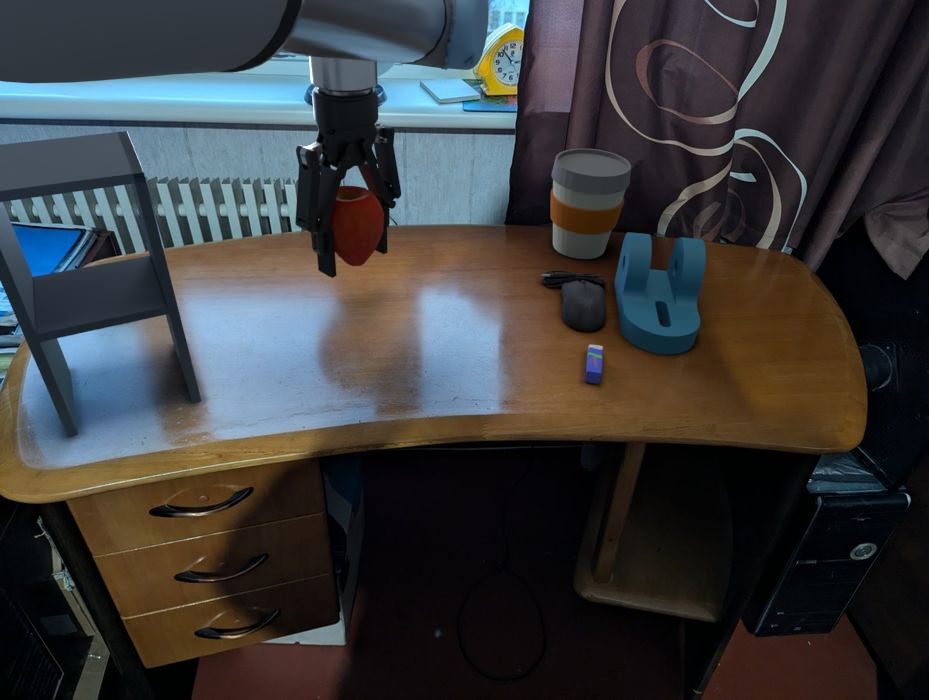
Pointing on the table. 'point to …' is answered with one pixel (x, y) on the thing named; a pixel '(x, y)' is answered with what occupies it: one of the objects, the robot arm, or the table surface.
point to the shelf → (90, 288)
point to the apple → (356, 224)
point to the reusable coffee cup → (586, 200)
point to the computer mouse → (580, 298)
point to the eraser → (594, 364)
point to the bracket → (659, 294)
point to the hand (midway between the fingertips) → (354, 261)
